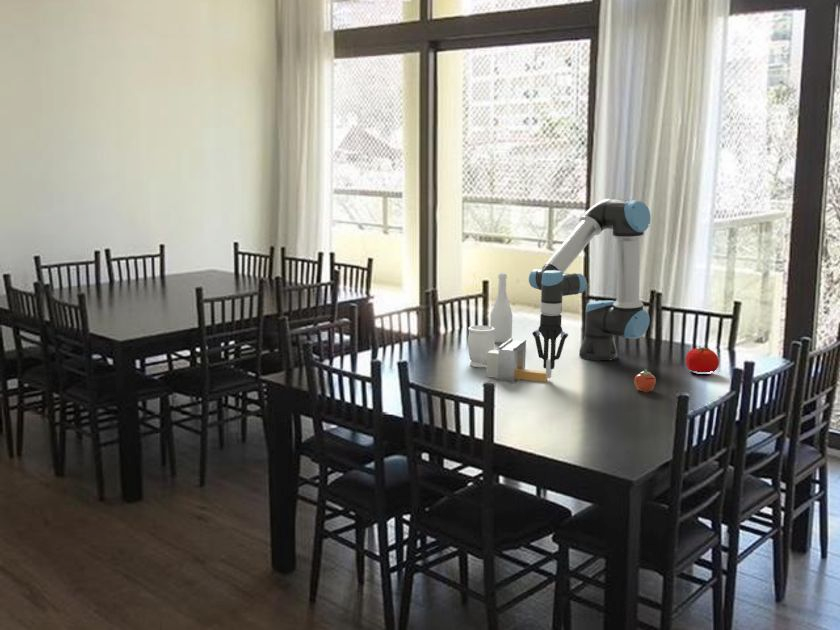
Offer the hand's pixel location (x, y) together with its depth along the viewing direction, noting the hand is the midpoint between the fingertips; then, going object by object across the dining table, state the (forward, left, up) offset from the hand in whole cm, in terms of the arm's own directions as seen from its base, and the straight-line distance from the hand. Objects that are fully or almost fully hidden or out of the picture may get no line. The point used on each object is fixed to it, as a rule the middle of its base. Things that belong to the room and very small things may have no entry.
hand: (548, 377), depth 319 cm
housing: (+13, -6, -1) cm, 14 cm away
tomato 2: (-31, +14, -2) cm, 34 cm away
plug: (+12, -5, -1) cm, 13 cm away
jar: (+22, -24, -2) cm, 32 cm away
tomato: (-60, -9, -2) cm, 61 cm away
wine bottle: (+7, -67, -2) cm, 67 cm away
